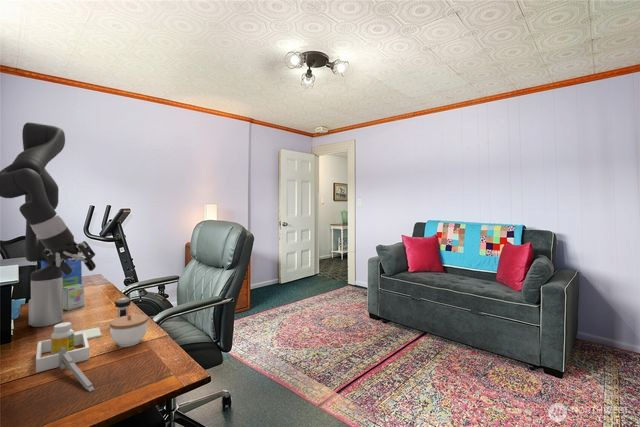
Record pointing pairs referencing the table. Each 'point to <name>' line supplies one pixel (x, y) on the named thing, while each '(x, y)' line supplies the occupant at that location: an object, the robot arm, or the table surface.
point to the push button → (122, 306)
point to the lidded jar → (128, 329)
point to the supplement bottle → (62, 338)
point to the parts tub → (53, 360)
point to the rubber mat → (91, 333)
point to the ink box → (72, 294)
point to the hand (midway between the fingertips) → (81, 271)
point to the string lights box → (75, 267)
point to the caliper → (73, 369)
